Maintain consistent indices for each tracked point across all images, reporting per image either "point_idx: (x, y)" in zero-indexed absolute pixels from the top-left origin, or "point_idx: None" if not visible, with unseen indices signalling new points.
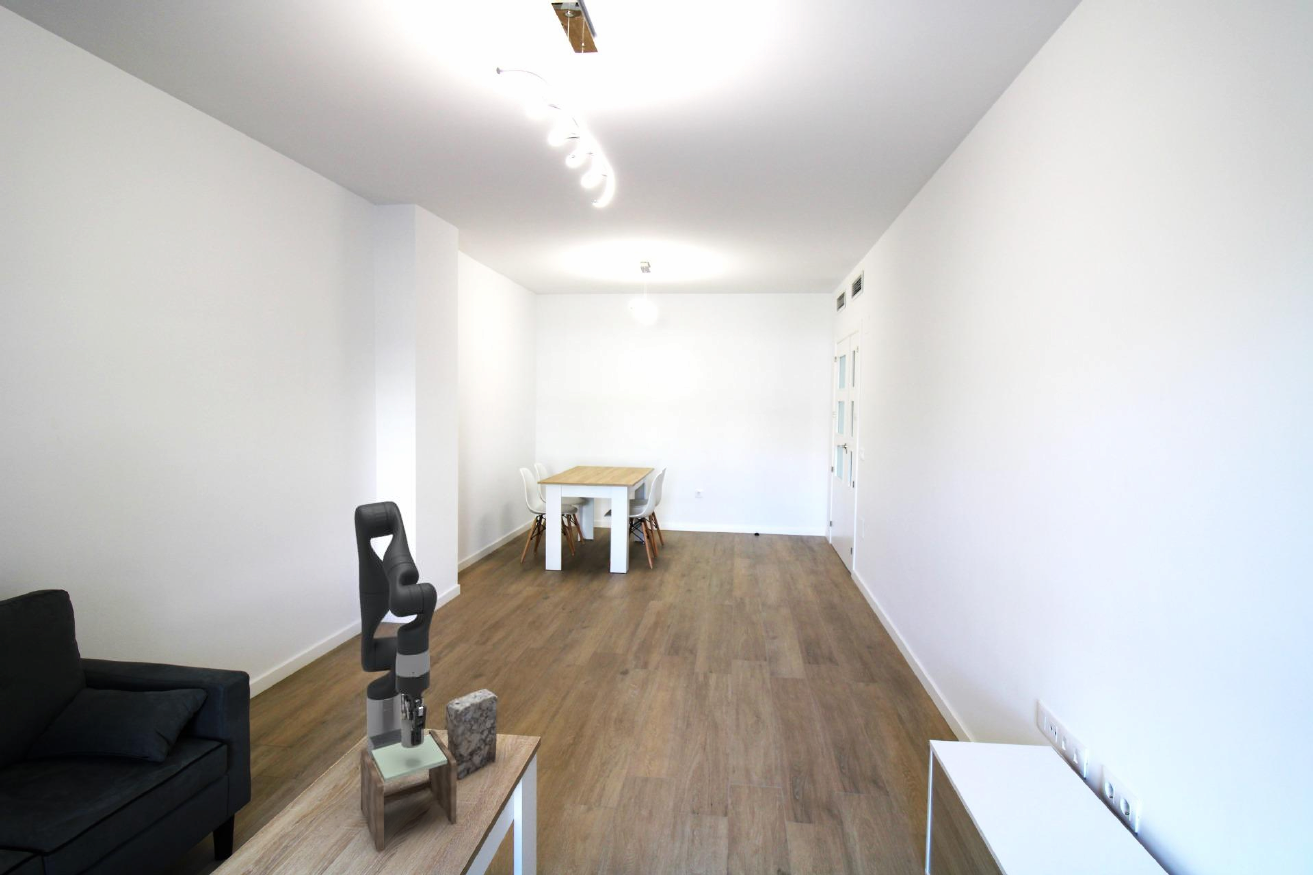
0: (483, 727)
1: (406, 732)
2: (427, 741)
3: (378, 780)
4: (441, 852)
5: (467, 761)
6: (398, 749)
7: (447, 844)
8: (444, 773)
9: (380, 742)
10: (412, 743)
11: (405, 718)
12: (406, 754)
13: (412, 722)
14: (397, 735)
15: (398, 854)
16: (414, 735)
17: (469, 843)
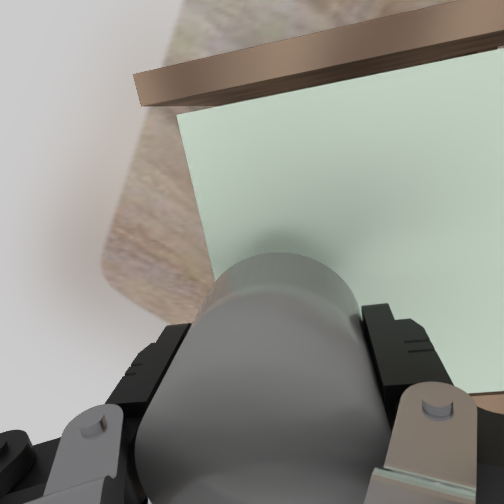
0: None
1: (181, 346)
2: (476, 363)
3: (196, 78)
4: (152, 249)
5: None
6: (480, 211)
7: (177, 267)
8: None
9: None
10: (164, 335)
11: (337, 416)
12: (391, 247)
13: (51, 491)
14: None
15: (182, 145)
16: (112, 393)
17: (162, 313)
